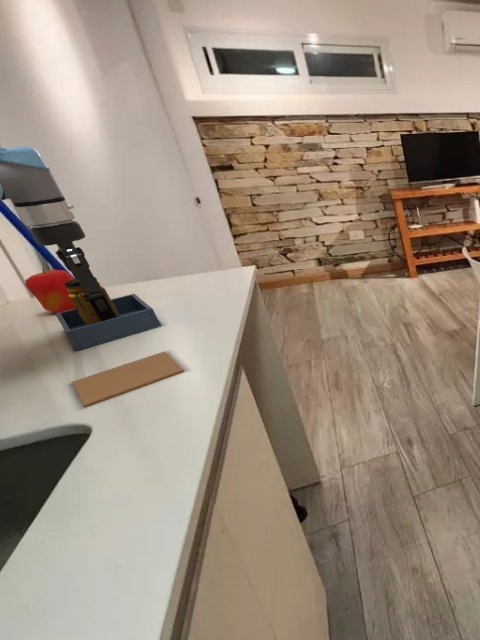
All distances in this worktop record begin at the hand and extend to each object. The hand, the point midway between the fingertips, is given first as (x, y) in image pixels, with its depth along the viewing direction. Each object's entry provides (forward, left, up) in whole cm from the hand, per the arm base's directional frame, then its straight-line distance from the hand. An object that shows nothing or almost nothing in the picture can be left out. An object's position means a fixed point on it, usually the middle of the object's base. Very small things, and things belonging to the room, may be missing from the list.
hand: (109, 320), depth 112 cm
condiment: (0, 0, -2) cm, 2 cm away
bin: (0, 0, -2) cm, 2 cm away
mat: (-3, -37, -2) cm, 37 cm away
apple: (-5, +31, -2) cm, 31 cm away
